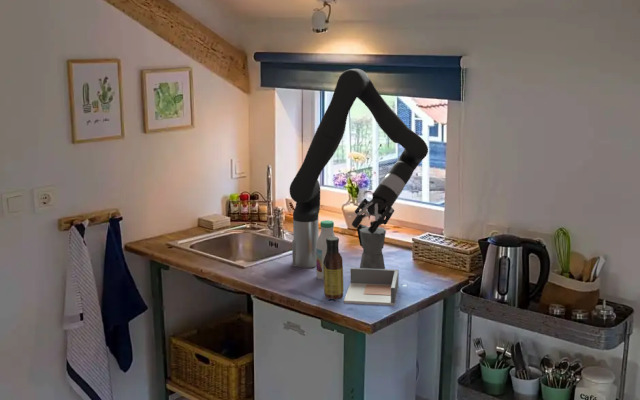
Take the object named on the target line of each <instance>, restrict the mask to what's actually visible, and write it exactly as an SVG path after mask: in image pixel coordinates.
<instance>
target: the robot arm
mask: <svg viewBox="0 0 640 400" xmlns="http://www.w3.org/2000/svg"><path fill="white" fill-rule="evenodd" d="M357 99H358V100H359V101H360V102H362V103H363V104H364V105H365V106H366V107H367V109H368V110H369V111H370V114H372V116H373V118H374V120H375V122H376V124H377V125H378V127H379V128H380V129H381V130H382V131H383V133H385V135H386V136H387V137H388V139H390V141H392V143H394V144H399V145H400V146H401V147H402V148H403V151H402V152H401V154H400V155H399V157H398V159H397V160H396V162H395V163H394V164H393V166H392V167H391V168H390V170H389V171H388V173H387V174H386V175H385V176H384V177H383V179H382V180H381V181H380V183H379V184H378V185H377V187H376V188H375V190H374V191H373V193H372V198H371V200H368V199H367V198H364V199H363V200H362V201H361V202H360V204H358V206H357V207H356V208H355V210H354V213H355V214H356V216H355V218H354V219H353V221H352V222H351V226H352V227H353V228H355V229H357V227H358V226H359V225H360V224H362V221H363V219H365V218H369V217H370V216H374V220H373V221H372V222H373V223H372V224H370V226H368V227H369V229H368V231H369V232H370V233H372V234H373V233H374V232H375V231H376V230H377V228H378V227H379V226H381V225H384V226H386V225H387V224H388V222H389V220H390V219H391V217H392V215H393V214H394V213H395V210H394V208H393V207H392V206H393V205H394V204H395V202H396V201H397V199H398V198H399V196H400V195H401V193H402V192H403V190H404V188H405V186H406V185H407V184H408V182H409V181H410V180H411V178H412V175H413V173H414V171H415V170H416V169H417V168H418V166H419V165H420V163H421V162H422V161H423V160H424V159H425V157H427V155H428V153H429V147H428V145H427V143H426V141H425V140H424V139H423V138H422V137H421V136H420V135H418V134H417V133H416V132H414V131H413V130H411V129H410V128H409V126H407V125H406V123H405V122H404V121H403V120H402V119H401V118H400V117H399V116H398V115H397V113H396V112H395V111H394V110H393V109H392V108H391V107H390V106H389V104H388V103H387V102H386V100H385V99H384V98H383V97H382V95H381V94H380V92H379V91H378V90H377V88H376V86H375V85H374V83H373V82H372V80H371V78H369V76H368V74H367V73H366V72H365V71H364V70H363V69H360V68H351V69H347V70H344V71H343V72H342V73H341V74H340V75H339V77H338V79H337V82H336V85H335V88H334V91H333V95H332V96H331V100H330V102H329V105H328V107H327V108H326V111H325V113H324V114H323V116H322V118H321V120H320V123H319V124H318V126H317V128H316V131H315V133H314V135H313V138H312V140H311V141H310V142H311V143H310V145H309V147H308V150H307V151H306V155H305V157H304V159H303V163H302V164H301V165H300V168H299V170H298V171H297V173H296V175H294V176H295V177H294V178H293V179H292V182H291V183H290V186H289V196H290V198H291V200H293V202H295V207H294V210H293V211H292V212H293V213H292V227H293V228H292V229H293V230H292V233H293V234H292V235H293V238H292V241H291V242H292V243H291V246H292V247H291V249H292V250H291V251H292V254H291V255H292V266H293V267H297V268H302V269H309V268H316V267H317V266H316V246H317V241H318V238H319V236H320V233H319V231H320V230H319V213H320V209H321V185H320V182H319V178H320V175H321V173H322V171H323V170H324V168H326V166H327V165H328V163H329V162H330V160H331V159H332V157H333V156H334V155H335V154H336V152H337V149H338V148H339V146H340V144H341V141H342V140H343V137H344V135H345V131H346V125H347V120H348V116H349V112H350V110H351V109H352V106H353V105H354V102H355V101H356V100H357ZM379 228H380V227H379Z"/></svg>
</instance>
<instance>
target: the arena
mask: <svg viewBox="0 0 640 400" xmlns="http://www.w3.org/2000/svg"><path fill="white" fill-rule="evenodd" d="M399 272H400V271H399V269H392V268H389V269H388V268H385V269H371V268H360V267H350V282H349V286H348V287H347V288H348V289H347V291H346V295H345V297H344V299H343V304H355V305H357V304H358V305H359V304H360V305H373V306H374V305H376V306H378V305H379V306H395V305H396V302H397V301H396V299H397V295H398V290H399V280H400V278H399V275H400V273H399Z"/></svg>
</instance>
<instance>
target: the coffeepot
mask: <svg viewBox="0 0 640 400" xmlns="http://www.w3.org/2000/svg"><path fill="white" fill-rule="evenodd" d="M372 223H373V221H370V225H371V224H372ZM369 227H370V226H367V225H363V224H362V223H360V224H359V226H358V227H357V228H356V233H357V235H358V236H357V237H358V241H359V245H360V247H361V248H362V253H361V259H360V265H359V268H371V269H386V267H385V258H384V254H383V249H384V246H385V238H386V233H387V230H386V229H385V228H383V227H378V228H377V230H376V231H375V232H374V233H373V234H372V233H370V232H369V231H368V229H369Z"/></svg>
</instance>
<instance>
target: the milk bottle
mask: <svg viewBox="0 0 640 400" xmlns="http://www.w3.org/2000/svg"><path fill="white" fill-rule="evenodd" d="M334 222H335V221H333V220H330V219H329V220H327V219H326V220H322V221H320V222H319V223H320V233H319V238H318V241H317V246H316V266H315V267H316V278H317V279H318V280H319V279H320V280H321V281H322V280H323V281H324V267H323V262H324V258H325V255H326V252H327V243H326V238H327V237H336V235H335V232H334V228H335V227H334V226H335V223H334Z"/></svg>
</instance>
